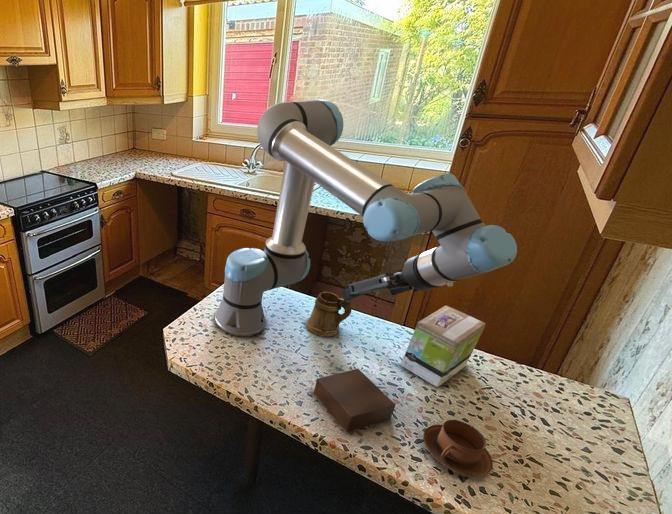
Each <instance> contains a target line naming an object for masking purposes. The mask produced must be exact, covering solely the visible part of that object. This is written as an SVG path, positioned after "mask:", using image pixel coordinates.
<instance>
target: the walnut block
mask: <svg viewBox="0 0 672 514" xmlns="http://www.w3.org/2000/svg"><path fill="white" fill-rule="evenodd" d="M313 395H314V396H315V397H316V398H317V400H318V401H319V402H320V403H321V404H322V405H323V407H324V408H325V409H326V410H327V411H328V413H329V414H330V415H331V416H332V417H333V418H334V419H335V421H336V422H337V423H338V424H339V426H340V427H341V428H342V429H343V430H344V431H345V433H351V432H354V431H357V430H361V429H364V428H368V427H371V426H374V425H379V424H382V423H385V422H388V421H390V420H391V419H392V416H393V414H394V411H395V408H396V406H397V404H396V403H395V402H394V401H393V400H392V399H391V398H390V397H389V396H388V395H387V394H385V392H383V391H382V390H381V389H380V388H379V387H378V386H377V385H376V384H375V382H373V381H372V380H371V379H370V378H369V377H368V376H367V375H365V373H363V372H362V371H361V369H360V368H354V369H351V370H350V369H349V370H346V371H341V372H339V373H333V374H330V375H326V376H321V377H318V378H316V381H315V386H314V389H313Z"/></svg>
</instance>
